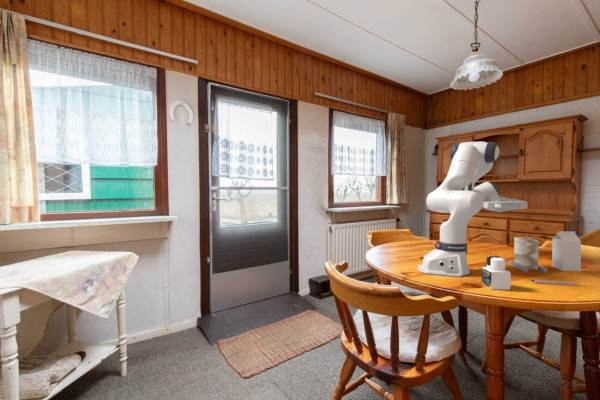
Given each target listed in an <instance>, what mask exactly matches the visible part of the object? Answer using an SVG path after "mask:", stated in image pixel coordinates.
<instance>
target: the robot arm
mask: <svg viewBox="0 0 600 400" xmlns="http://www.w3.org/2000/svg"><path fill="white" fill-rule="evenodd" d="M499 155H500V148H499V144H497V143H496V142H493V141H487V142H486V141H482V140H481V141H467V142H465V141H464V142H462V141H461V142H455V143H453V145H451V147H450V149H449V158H450V159H451V164H450V166H449V169H448V171H447V174H446V177H445V178H444V180H443V181H442V182H441V184H440V185H439V186H438V187H437V188H436V189H435V190H433V191H431V192H430V193H428V194H427V197H426V199H425V200H426V202H425V204H426V206H427V208H428V209H429V210H430V211H433V212H435V213H436V212H437V213H443V214H444V213H445V214H450V215H449V218H448V220H445V221H444V222H442V223H441V224H440V226H439V240H438V241H436V240H433V241H432V245H433V246H435V247H434V249H432V250H431V251H429V252H428V253H426V254H425V255H424V256H423V260H422V263H421V264H418V265H417V269H418V271H419V272H421V273H424V274H425V275H426V274H427V275H437V276H447V277H449V276H450V277H456V278H457V277H458V278H462V277H463V276H467V275H470V273H471V272H470V269H469V266H468V265H469V264H468V258H467V255H468V243H467V228H468V224H469V223H470V221H471V219H472V217H474V215H476V214H478V213H479V212H480V211H481V210H482V208H483V209H485V210H487V211H491V212H496V213H497V212H498V213H503V212H508V211H517V210H524V209H525V210H527V209H528V205H529V204H528V203H529V202H528V201H525V200H520V199H518V198H511V197H505V196H501V192H500V189H499V187H498V186H497V185H496V184H495V183H493V182H490V181H485V182H483V183H481V184H478V185H477V186H475V183H476V182H477V181H478V180H479V179H480V178H482V177H483V176H485V175H486V174H488V173H489V172H490V171H491V170H492V169H493V167H494V162H496V161H497V160H498V158H499Z"/></svg>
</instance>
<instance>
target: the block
mask: <svg viewBox="0 0 600 400" xmlns="http://www.w3.org/2000/svg"><path fill="white" fill-rule="evenodd" d="M513 239H514V241H513V242H514V244H513V245H514V246H513V247H514V248H513V249H514V250H513V253H514V254H513V256H514V257H513V261H514V262H516V263H518V264H520V265H522V266H525V267H527V268H528V271H539V270H538V265H539V240H537V239H533V238H531V237H516V236H515V237H514V238H513Z"/></svg>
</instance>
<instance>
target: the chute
mask: <svg viewBox="0 0 600 400" xmlns="http://www.w3.org/2000/svg"><path fill="white" fill-rule="evenodd" d="M508 265H509V266H511V267H514V268H515V269H517V270H520V271H522V272H524V273H528V271H529V270H528V268H527V267H525V266H522V265H520V264H518V263H516V262H514V260H509V261H508ZM537 271H539V272H542V273H544V274H548V268H547V267H544V266H542V265H540V264H538V270H537ZM530 281H531V282H533V283H535V284H540V285H557V286H558V285H560V286H561V285H562V286H578V285H577V284H578V283H577V282H576V281H575V282H574V281H569V280H567V281H566V280H565V281H562V280H548V279H547V280H545V279H530Z"/></svg>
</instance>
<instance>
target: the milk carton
mask: <svg viewBox="0 0 600 400" xmlns="http://www.w3.org/2000/svg"><path fill="white" fill-rule="evenodd" d="M551 241H552V249H551V258H552V259H551V260H552V261H551V268H555V269H557V270H560V271H561V272H564V271H565V272H579V273H581V268H582V267H581V265H582V263H581V262H582V256H581V255H582V240H581V239H580V237H578V235H577V234H576V231H572V230H571V231H567V230H566V231H563V230H560V231H559V230H558V231H557V233H556V234H555V236H553V238H552V240H551Z"/></svg>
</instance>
